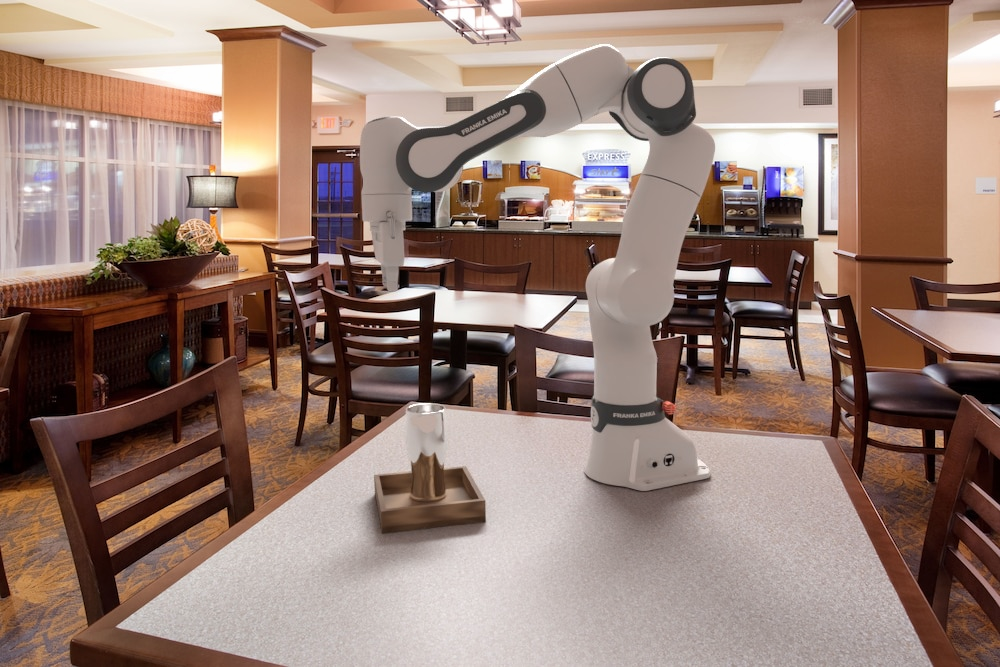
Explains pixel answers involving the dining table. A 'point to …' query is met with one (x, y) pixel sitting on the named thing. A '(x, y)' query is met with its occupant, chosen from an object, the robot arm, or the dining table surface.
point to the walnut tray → (410, 514)
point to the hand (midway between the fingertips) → (390, 288)
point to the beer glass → (426, 450)
